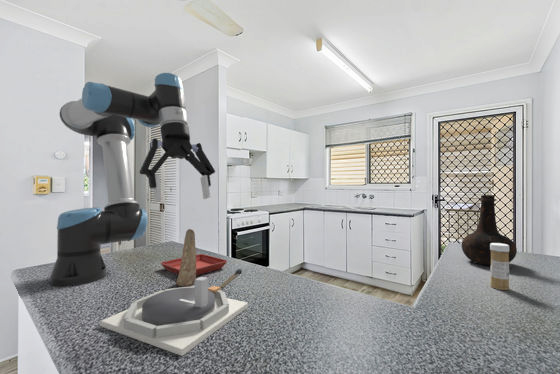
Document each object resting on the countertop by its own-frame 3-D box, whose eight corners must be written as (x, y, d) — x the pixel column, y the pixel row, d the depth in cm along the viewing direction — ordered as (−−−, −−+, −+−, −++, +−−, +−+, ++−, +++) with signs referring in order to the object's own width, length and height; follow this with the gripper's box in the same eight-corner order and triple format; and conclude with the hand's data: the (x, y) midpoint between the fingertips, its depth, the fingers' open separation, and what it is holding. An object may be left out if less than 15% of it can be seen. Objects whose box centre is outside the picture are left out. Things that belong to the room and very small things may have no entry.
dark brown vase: (470, 267, 103) (470, 195, 103) (455, 256, 120) (455, 194, 120) (527, 272, 98) (527, 195, 98) (502, 259, 115) (502, 194, 115)
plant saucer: (159, 270, 100) (159, 261, 100) (201, 261, 113) (201, 253, 113) (184, 281, 88) (184, 271, 88) (228, 269, 102) (228, 260, 102)
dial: (125, 317, 59) (126, 279, 60) (180, 292, 74) (181, 262, 74) (178, 334, 53) (178, 292, 53) (228, 303, 67) (228, 269, 67)
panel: (100, 326, 58) (101, 309, 59) (179, 291, 79) (179, 279, 79) (182, 356, 48) (182, 335, 48) (248, 306, 68) (248, 292, 68)
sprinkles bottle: (496, 284, 85) (496, 242, 85) (513, 289, 80) (512, 244, 80) (486, 286, 83) (486, 243, 83) (503, 291, 79) (503, 246, 79)
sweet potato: (178, 290, 81) (198, 287, 84) (182, 233, 79) (203, 232, 82) (173, 281, 86) (193, 278, 90) (178, 227, 84) (197, 226, 88)
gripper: (129, 113, 65) (138, 198, 61) (219, 127, 82) (230, 194, 79) (121, 125, 70) (129, 205, 66) (207, 136, 87) (217, 199, 84)
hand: (184, 199), depth 73 cm, fingers open, 13 cm apart
